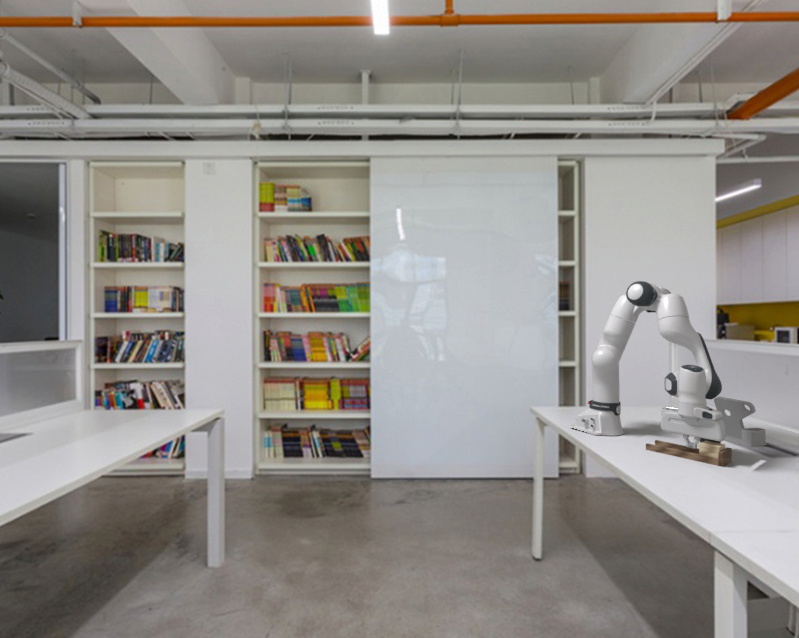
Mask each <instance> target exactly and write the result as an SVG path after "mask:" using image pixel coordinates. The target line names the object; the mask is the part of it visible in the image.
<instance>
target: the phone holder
mask: <svg viewBox="0 0 799 638" xmlns="http://www.w3.org/2000/svg"><path fill="white" fill-rule="evenodd" d="M713 402H714V406H715V410H717V411H720V412H721V413H722V418H720V419H721V420H723V422H724V424H725V430H726V438H725V439H724V440H723V441H727V442H730V443H734V444H738V445H740V446H745V447H748V448H749V447H750V448H755V447H754V446H757V447H765V446H764V445H767V446H768V444H767V442H766V440H767V439H766V438H767V437H766V435H767V433H766V429H765V428H761V427H749V428H748V427H747V428H745V426H744V422H743V419H745V418H748V416H751V415H753V414H754V413H756V407H755V405H754V404H753V403H752V402H750V401H746V400H742V399H736V398H730V397H726V396H725V397H724V396H717V397H715V398H714V399H713ZM746 406H747V407H748V408H749V409H748V408H746ZM726 410H727V411H728V412H729V413H730V415H727V413H726Z"/></svg>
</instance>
